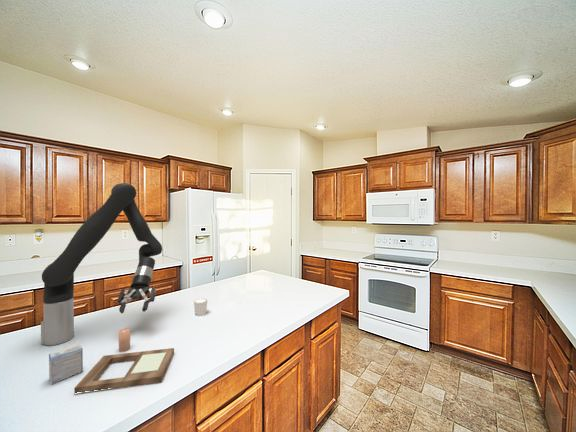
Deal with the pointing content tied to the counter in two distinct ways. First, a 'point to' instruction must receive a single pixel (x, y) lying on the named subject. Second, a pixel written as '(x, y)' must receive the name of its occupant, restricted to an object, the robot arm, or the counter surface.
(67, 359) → the medicine box
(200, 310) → the white candle
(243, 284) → the counter surface
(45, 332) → the robot arm
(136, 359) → the hole board
